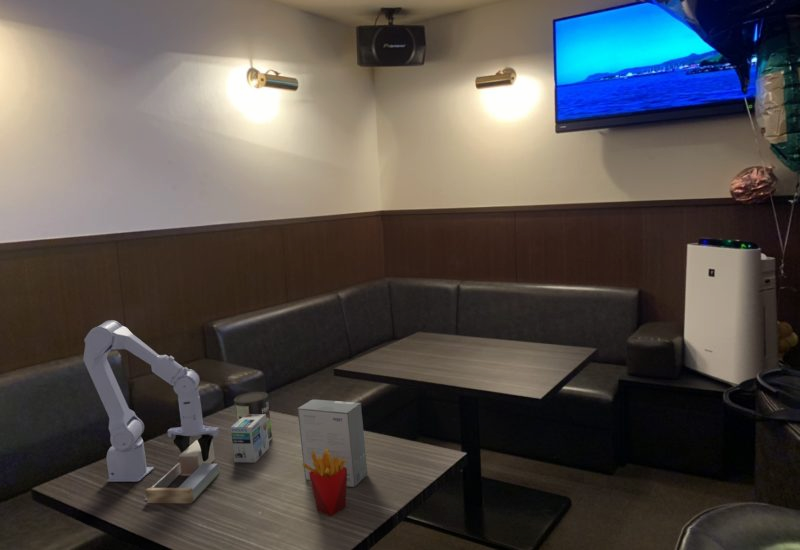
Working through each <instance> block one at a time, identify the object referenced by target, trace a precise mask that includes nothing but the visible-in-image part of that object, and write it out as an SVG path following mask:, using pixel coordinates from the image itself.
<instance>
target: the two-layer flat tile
mask: <svg viewBox="0 0 800 550" xmlns="http://www.w3.org/2000/svg"><path fill="white" fill-rule="evenodd" d="M219 474H220V467H219V463H211V464H202V465H201V466H200V467H199V468H198V469H197V470H196V471H195V472H194V473H193V474H192V475H190V476H187V478H186V479H185V480H184V481H183V482H182V483H181V484H180V485H179V486H178V487H177V488H192V492H193V500H194V501H195V500H196V499H197V498H198V497H199V496H200V494H201V493H202V492H203V491H204V490H205V489H206V488H207V487H208V486H209V485H210V484H211V482H213V481H214V480H215V479H216V477H218V475H219Z"/></svg>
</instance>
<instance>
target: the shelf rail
mask: <svg viewBox="0 0 800 550" xmlns="http://www.w3.org/2000/svg"><path fill="white" fill-rule="evenodd" d="M145 495H146V496H145V498H147V501H146V503H147V504H192V503H194V501H195V500H193V492H192V488H178V487H166V488H151V487H147V488H146V489H145Z"/></svg>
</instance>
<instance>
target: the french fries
mask: <svg viewBox="0 0 800 550" xmlns="http://www.w3.org/2000/svg"><path fill="white" fill-rule="evenodd" d="M329 451H330V450H328V449H326V451H325V452H323V457H322V458H321V457H318V458H317V459H316V455H315V452H314V451H313V452H311V455H312V458H313V461H314V463H313V465H314V467H315V469H313V468H311V467H310V466H308V465H307V464H305V463H302V464H301V466H302V467H303V468H304V467H305V468H307V469H308V470H310V472H309V475H310V480H309V481H310V483H311V484H310V485H311V487H312V494H313V497H314V501H315V505H316V506H315V507H316V510H317V511H318V512H319V513H323V514H325V515H326V516H329V517H333V516H335V515H336V514H338V513H339V512H340V511H342V510H344V509H346V508H347V487H348V486H347V468H345V467H343V466H344V462H345V458H342V459H341V460H340V461H339V460H338V459H337V458H338V457H337V455H336V456H334V462H333V459H332V457H331V455H329ZM338 461H339V462H338Z"/></svg>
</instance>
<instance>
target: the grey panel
mask: <svg viewBox="0 0 800 550" xmlns="http://www.w3.org/2000/svg"><path fill="white" fill-rule="evenodd" d="M180 475H182V473H181V465H180V462H178V463H177V464H175V465H174V466H173V467H172V468H170V470H169V471H167V473H166V474H165V475H163V476H162V477H161V478H160V479H159V480H157V482H155V483H154V484H153V485H152V486H151V487H150V488H168V486H170V485H171V484H172V483H173V482H174V481H175V480H176V479H177V478H178V477H179V476H180ZM144 501H146V502H147V498H146V497H145V498H144Z"/></svg>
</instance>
